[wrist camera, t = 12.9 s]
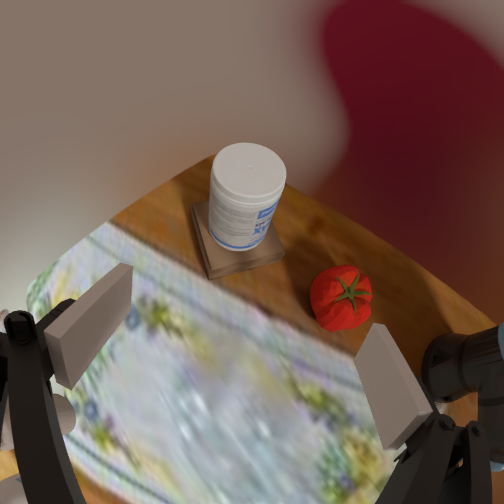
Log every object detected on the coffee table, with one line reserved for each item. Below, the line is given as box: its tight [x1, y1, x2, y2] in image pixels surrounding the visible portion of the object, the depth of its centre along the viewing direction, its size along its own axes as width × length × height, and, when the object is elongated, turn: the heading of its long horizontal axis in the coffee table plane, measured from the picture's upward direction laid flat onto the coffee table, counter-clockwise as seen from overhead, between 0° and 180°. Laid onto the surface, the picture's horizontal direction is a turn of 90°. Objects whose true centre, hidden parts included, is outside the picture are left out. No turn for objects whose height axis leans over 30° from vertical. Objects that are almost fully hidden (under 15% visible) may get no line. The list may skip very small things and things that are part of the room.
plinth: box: [190, 201, 285, 280], centre depth 49 cm, size 13×13×4 cm
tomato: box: [310, 265, 373, 332], centre depth 44 cm, size 11×11×9 cm
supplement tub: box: [208, 143, 286, 251], centre depth 40 cm, size 10×10×15 cm
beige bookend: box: [0, 394, 76, 451], centre depth 23 cm, size 7×14×20 cm, turn 97°
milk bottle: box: [0, 473, 28, 504], centre depth 16 cm, size 8×8×20 cm
